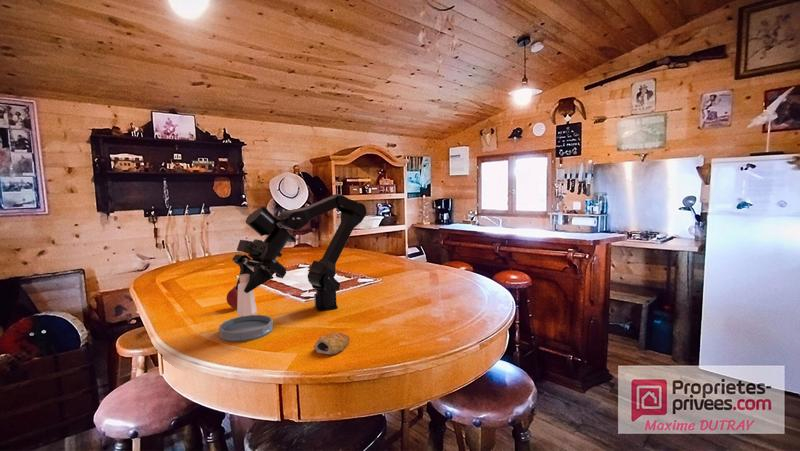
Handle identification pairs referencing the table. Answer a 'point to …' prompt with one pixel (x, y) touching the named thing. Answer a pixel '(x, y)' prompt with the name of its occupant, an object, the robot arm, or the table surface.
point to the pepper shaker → (245, 298)
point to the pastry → (332, 343)
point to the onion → (232, 297)
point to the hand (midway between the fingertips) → (240, 291)
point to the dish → (245, 328)
